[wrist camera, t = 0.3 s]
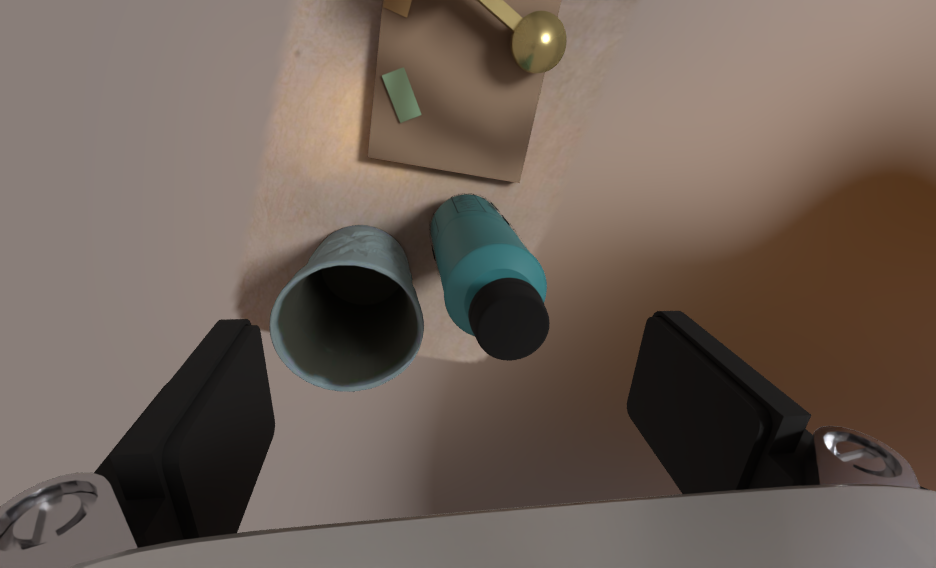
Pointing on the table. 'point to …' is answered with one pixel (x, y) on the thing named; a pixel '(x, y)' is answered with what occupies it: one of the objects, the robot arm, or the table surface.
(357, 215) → the table surface
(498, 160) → the cutting board
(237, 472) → the robot arm
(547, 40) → the gold and silver piece
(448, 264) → the beverage bottle
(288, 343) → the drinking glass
